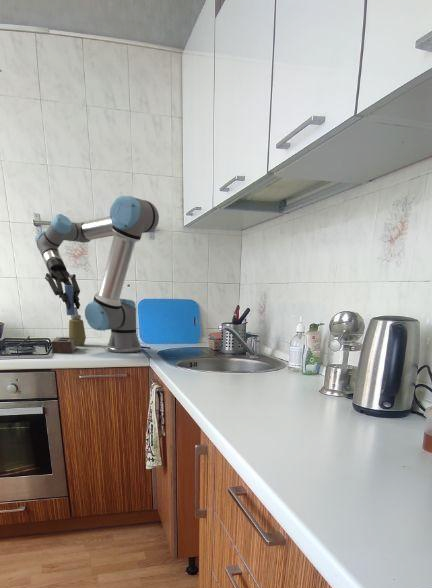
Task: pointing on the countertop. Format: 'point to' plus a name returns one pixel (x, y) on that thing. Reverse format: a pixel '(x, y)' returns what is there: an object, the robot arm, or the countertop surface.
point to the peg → (70, 299)
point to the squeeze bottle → (77, 328)
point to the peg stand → (63, 345)
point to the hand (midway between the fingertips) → (74, 307)
